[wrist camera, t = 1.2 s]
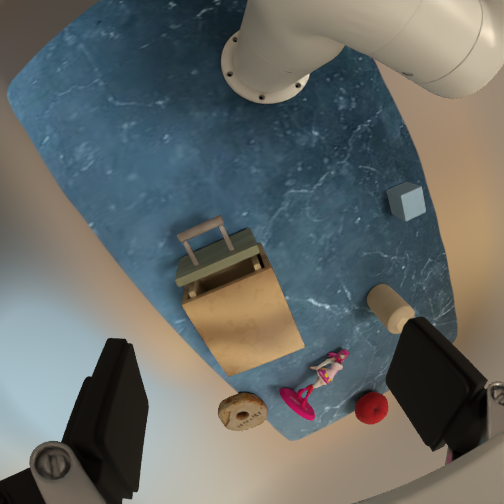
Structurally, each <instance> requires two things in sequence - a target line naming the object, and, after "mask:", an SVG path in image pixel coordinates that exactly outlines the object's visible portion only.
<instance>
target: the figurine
mask: <svg viewBox="0 0 504 504" xmlns="http://www.w3.org/2000/svg"><path fill="white" fill-rule="evenodd" d="M327 354H329V356H328V357H331V358H328V359H326V360H325V361H324V362H322V363H321V364H320V365H319V366H313V367H310V368H311V369H313V368H315V369H316V370H317V369H318V370H317V374H318V378H317V381H316V383H315V384H311V385H309V386H307V387H306V388H305V389H300V390H299V391H298V392H297V393H298V394H297V393H296V392H294V391H293V390H291V389H288V388H281V389H280V390H279V393H280V395H281V397H282V399H283V400H284V401H285V403H286V404H287V405H288V406H289V407H290V408H291V409H292V410H293V411H295V412H296V413H297V414H299V415H300V416H302V417H303V418H305V419H307V420H314V418H315V413H314V410H313V409H312V407H311V406H310V405H309V403H308V402H307V398H308V396H309V394H310V393H311V392H312V390H313V389H314V388H317V387H319V386H321V385H323V384H325V385H326V384H328V383H329V382H331V381H333V377H334V375H335V374H336V373H337V371H338V370H341V369H343V367H342V362H343V360H344V359H346V358H347V357H348V355H349V352H348V351H347V350H346V349H343V350H341V351H340V352H338V353H337V354H335V353H332V352H330V353H327ZM328 363H330V364H331V368H330V369H327V368H325V367H323V366H325V365H326V364H328ZM321 367H323V368H321ZM319 368H321V369H319ZM313 370H314V369H313ZM306 390H308V392H307V395H306V397H305V398H302V397H301V394H302V393H303V392H304V391H306Z"/></svg>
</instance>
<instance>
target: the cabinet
mask: <svg viewBox="0 0 504 504" xmlns="http://www.w3.org/2000/svg"><path fill="white" fill-rule="evenodd" d="M257 245H258V248H259V250H260V253H259V254H256V255H257V257H258V259H259V262H260V264H261V266H262V268H263V269H260V270H258V271H255V272H253V273H251V274H248V275H246V276H244V277H241V278H239V279H237V280H234V281H232V282H229V283H227V284H225V285H222V286H220V287H217V288H215V289H213V290H210V291H208V292H205V293H203V294H201V295H198V296H196V297H193V298H191V297H190V295H189V293H188V292H189V284H190V283H188V284H186V285H185V286H184V292H183V299H182V307H183V308H184V310H185V312H186V313H187V315H188V317H189V318H190V320H191V321H192V323H193V324H194V326H195V328H196V329H197V331H198V332H199V334H200V335H201V337H202V339H203V340H204V342H205V343H206V345H207V346H208V348H209V349H210V351H211V352H212V354H213V355H214V357H215V358H216V360H217V361H218V363H219V364H220V365H221V367H222V368H223V370H224V371H225V373H226V374H227V376H228V377H229V376H232V375H235V374H238V373H240V372H243V371H246V370H249V369H252V368H254V367H257V366H260V365H262V364H265V363H267V362H270V361H273V360H275V359H278V358H280V357H283V356H285V355H288V354H290V353H292V352H295V351H297V350H300V349H302V348H304V347H305V346H304V343H303V341H302V338H301V336H300V334H299V331H298V329H297V326H296V324H295V321H294V319H293V317H292V314H291V312H290V309H289V307H288V304H287V302H286V300H285V297H284V295H283V292H282V290H281V288H280V285H279V283H278V280H277V278H276V276H275V273H274V271H273V268H272V266H271V264H270V262H269V260H268V257H267V255H266V253H265V251H264V249H263V246H262V244H261V243H260V244H257Z"/></svg>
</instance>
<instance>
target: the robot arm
mask: <svg viewBox="0 0 504 504" xmlns="http://www.w3.org/2000/svg"><path fill="white" fill-rule="evenodd" d="M234 40H236V41H237V42H234ZM345 45H346V46H348V47H350V48H352V49H354V50H356V51H358V52H360V53H364V54H366V55H368V56H370V57H372V58H374V59H375V60H377V61H379V62H381V63H383V64H385V65H386V66H388V67H390V68H391V69H393V70H395V71H396V72H398V73H400V74H401V75H403V76H405V77H406V78H408V79H409V80H411V81H413V82H414V83H416V84H418V85H419V86H421V87H422V88H424V89H426V90H428V91H430V92H431V93H433V94H436V95H438V96H441V97H445V98H453V99H454V98H462V97H466V96H469V95H471V94H473V93H475V92H477V91H478V90H480V89H481V88H482V87H484V86H485V85H486V84H487V83H488V82H489V81H490V80H491V79H492V78H493V77H494V76H495V75H496V73H497V72H498V71H499V69H500V68H501V67H502V65H503V64H504V0H248V2H247V6H246V9H245V13H244V17H243V21H242V24H241V28H240V30H239V31H238V32H236V33H235V34H234V35H233V36H232V37H231V38H230V39H229V40H228V41H227V43H226V44H225V47H224V49H223V51H222V56H221V68H222V73H223V75H224V78H225V80H226V82H227V83H228V85H229V86H230V87H231V88H232V89H233V90H234V91H235V92H236V93H237V94H239V95H240V96H241V97H243V98H245V99H247V100H249V101H253V102H256V103H262V104H275V103H279V102H283V101H285V100H288V99H290V98H292V97H293V96H295V95H296V94H297V93H299V92H300V91H301V90H302V89H303V87H304V86H305V85H306V83H307V81H308V79H309V75H310V73H311V72H313V71H314V70H316V69H318V68H319V67H321V66H323V65H324V64H326V63H327V62H329V61H331V60H332V59H333V58H335V57H336V56H337V55H338V54H339V53H340V52H341V50H342V49H343V47H344V46H345ZM228 74H231V77H229V76H228ZM295 85H298V88H296V87H295ZM260 96H261V97H263V99H262V100H261V99H259V97H260ZM487 381H488V380H487V379H486V378H485V377H484V376H483V375H482V374H481V373H480V372H479V371H478V370H477V369H476V368H475V367H474V366H473V364H472V363H470V361H469V360H468V359H467V358H466V357H465V356H464V355H463V354H462V353H461V352H460V351H459V350H458V349H457V348H456V347H455V346H453V344H452V343H451V342H450V341H449V340H448V339H446V338H445V337H444V336H443V335H442V334H441V333H440V332H439V331H438V330H437V329H436V328H435V327H434V326H433V325H432V324H431V323H430V322H429V321H428V320H427V319H426V318H424V317H416V318H410V319H408V321H407V322H406V323H405V324H404V326H403V329H402V332H401V335H400V338H399V341H398V344H397V347H396V350H395V353H394V356H393V359H392V362H391V364H390V367H389V370H388V372H387V375H386V384H387V386H388V388H389V389H390V391H391V392H392V394H393V395H394V396H395V398H396V400H397V401H398V403H399V404H400V406H401V407H402V409H403V410H404V412H405V414H406V415H407V417H408V418H409V420H410V421H411V423H412V424H413V426H414V427H415V429H416V431H417V432H418V434H419V435H420V437H421V438H422V440H423V442H424V443H425V444H426V445H427V446H429V447H430V448H431V450H432V451H435V450H438V449H440V448H442V447H443V446H444V445H445V444H447V445H448V451H447V457H446V463H445V466H443V467H441V468H440V469H437V470H435V471H433V472H431V473H429V474H427V475H425V476H423V477H421V478H419V479H416V480H414V481H412V482H410V483H408V484H405V485H403V486H400V487H398V488H395V489H393V490H390V491H388V492H385V493H382V494H380V495H377V496H374V497H371V498H368V499H365V500H362V501H359V502H356V503H353V504H504V383H503V382H497V381H496V382H492V383H491V384H489V386H488V388H487V389H485V388H484V386H485V384H486V382H487ZM148 408H149V405H148V399H147V395H146V392H145V389H144V385H143V382H142V378H141V375H140V371H139V368H138V364H137V360H136V356H135V352H134V348H133V345H132V344H130V343H127V341H126V339H118V338H109V339H107V341H106V343H105V346H104V348H103V350H102V353H101V355H100V358H99V360H98V363H97V365H96V367H95V370H94V372H93V375H92V377H90V376H89V377H86V379H85V380H84V382H83V385H82V387H81V390H80V392H79V395H78V397H77V400H76V402H75V405H74V408H73V410H72V413H71V416H70V419H69V421H68V424H67V427H66V430H65V432H64V435H63V438H62V441H61V442H58V441H49V442H45V443H42V444H40V445H39V446H37V447H36V448H35V449H34V450H33V452H32V454H31V456H30V463H29V464H30V468H27V469H25V470H23V471H21V472H19V473H17V474H15V475H12V476H10V477H8V478H6V479H3V480H1V481H0V504H122V498H125V499H132V496H133V492H137V491H138V489H139V479H140V470H141V461H142V453H143V445H144V437H145V430H146V423H147V416H148Z"/></svg>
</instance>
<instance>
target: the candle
mask: <svg viewBox="0 0 504 504" xmlns="http://www.w3.org/2000/svg"><path fill="white" fill-rule="evenodd" d="M367 304H368V306H369V307H370V309H371V310H372V311H373V312H374V314H375V315H376V316H377V317H378V318H379V319H380V321H381V322H382V323H383V324H384V325H385V327H386V328H387V329H388V330H389V331H390V332H391V333H393V334H397V333H401V332H402V329H403V326H404V324H405V323H406V322H407V321H408V319H410V318H414V310H413V308H412V307H411V306H410V305H409V304H407V303H406V302H405V301H404V300H403V299H402V298H401V297H400V296H399V295H398V294H397V293H396V292H395V291H394V290H393V289H392V288H391V287H389V286H388V285H386V284H379V285H377V286H375V287H374V288H373V289H372V290H371V291H370V292H369V294H368V296H367Z"/></svg>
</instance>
